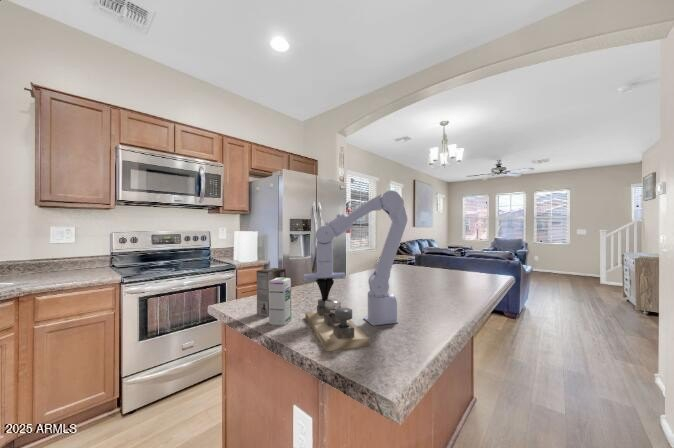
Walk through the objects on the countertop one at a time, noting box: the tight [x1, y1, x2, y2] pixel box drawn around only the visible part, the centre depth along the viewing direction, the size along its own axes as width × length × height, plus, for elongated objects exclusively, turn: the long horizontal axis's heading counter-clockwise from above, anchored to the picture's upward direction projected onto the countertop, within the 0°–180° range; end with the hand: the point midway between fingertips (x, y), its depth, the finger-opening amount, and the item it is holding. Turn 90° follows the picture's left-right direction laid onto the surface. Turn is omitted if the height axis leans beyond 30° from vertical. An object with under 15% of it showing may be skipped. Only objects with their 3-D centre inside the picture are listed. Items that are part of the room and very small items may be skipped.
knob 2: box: [335, 307, 353, 328], centre depth 75 cm, size 5×5×4 cm
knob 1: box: [317, 298, 330, 308], centre depth 94 cm, size 5×5×4 cm
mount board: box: [304, 304, 371, 352], centre depth 85 cm, size 12×28×4 cm, turn 18°
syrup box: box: [268, 277, 292, 326], centre depth 92 cm, size 6×6×14 cm
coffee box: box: [256, 267, 287, 318], centre depth 103 cm, size 9×6×16 cm
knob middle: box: [325, 298, 342, 317], centre depth 85 cm, size 5×5×4 cm
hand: (324, 300), depth 94 cm, fingers closed, pressing on knob 1
